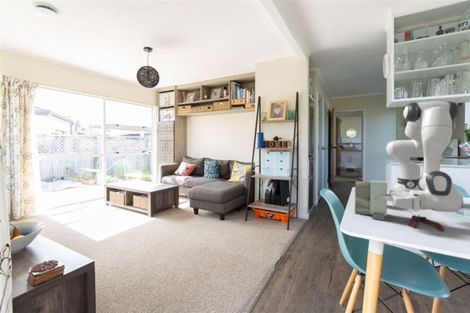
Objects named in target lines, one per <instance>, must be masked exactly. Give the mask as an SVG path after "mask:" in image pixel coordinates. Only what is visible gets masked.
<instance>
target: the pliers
mask: <svg viewBox="0 0 470 313" xmlns="http://www.w3.org/2000/svg"><path fill="white" fill-rule="evenodd" d="M410 215H411V220H410V221H409V226H411V228H413V229H417V224H416V223H418V222H422V223H424V224H427V225H430V226H432V227H434V228H436V229H438V230H439V231H440V232H443V231H444V230H445V228H444V226H443V225H441V224H440V223H438V222H436V221H434V220H431V219H429V218H427V217H426V216H421V215H420V214H414V213H410Z"/></svg>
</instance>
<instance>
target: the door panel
mask: <svg viewBox="0 0 470 313" xmlns="http://www.w3.org/2000/svg"><path fill="white" fill-rule="evenodd" d="M370 182H371V186H370V214H372V213H379V214H384V217H387V216H388V215H387V214H388V211H387V210H388V201H387V200H382V199H380V195H384V196H387V194H388V181H380V180H370Z"/></svg>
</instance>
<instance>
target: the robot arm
mask: <svg viewBox="0 0 470 313" xmlns="http://www.w3.org/2000/svg"><path fill="white" fill-rule="evenodd" d="M459 109H460V108H459V105H458V104H457V103H456V102H455V101H450V100H448V101H442V100H441V101H439V100H431V101H419V102H416V101H415V102H409V103H408V104H406V106H405V107H404V110H403V112H402V113H403V118H404V120H405V121H406V122H407V123H406V126H405V128H404V134H405V136H406V137H407V138H409V139H400V140H399V139H397V140H392V141H389V142H388V143H387V144H386V146H385V151H386V153H387V155H388V156H390V157H391V158H392V159H394V161H395V162H396V164H397V167H398V177H397V184H396V185H395V186H394V187H393V188H392V189H389V192H388V193H387V196H384V195H380V199H382V200H387V202H391V203H392V205H393V207H397V208H401V209H410V210H413V211H416V212H417V211H418V212H419V211H421V210H422V211H425V210H426V211H427V210H430V211H435V212H441V213H442V212H444V213H455V212H458V211H460V210H461V209H462V207H463V205H464V197H463V195H462V194H461V193H460V192H458V190H457V188H456V187H455V185H454V183H453V179H452V177H451V176H450V175H449V174H448V173H447V172H444V171H441V170H440V169H441V159H442V154H443V152H444V151H445V150H446V148H447V147H448V145H449V144H450V143H451V140H452V135H453V124H452V121H454V120H455V119H456V118H457V116H458V114H459ZM411 158H423V165H422V169H421V166H420V165H419V164H417V163H416V162H413V161H411ZM421 170H422V174H421Z"/></svg>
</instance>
